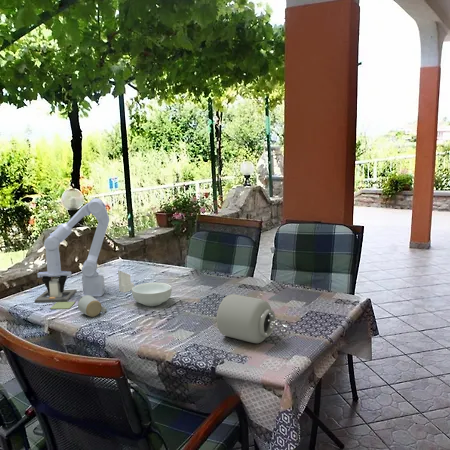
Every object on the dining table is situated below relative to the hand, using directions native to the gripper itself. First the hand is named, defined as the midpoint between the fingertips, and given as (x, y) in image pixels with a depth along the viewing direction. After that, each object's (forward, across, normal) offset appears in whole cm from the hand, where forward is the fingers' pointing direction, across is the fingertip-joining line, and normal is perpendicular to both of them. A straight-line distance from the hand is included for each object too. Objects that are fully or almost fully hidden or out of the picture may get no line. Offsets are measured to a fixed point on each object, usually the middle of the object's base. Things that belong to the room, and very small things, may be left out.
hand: (56, 292), depth 208 cm
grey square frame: (+2, 0, 0) cm, 2 cm away
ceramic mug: (+3, +23, -22) cm, 32 cm away
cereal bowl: (+3, +45, -11) cm, 46 cm away
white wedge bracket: (+3, +30, +8) cm, 31 cm away
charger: (+2, 0, 0) cm, 2 cm away
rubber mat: (+2, +7, -12) cm, 14 cm away
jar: (+3, +87, -51) cm, 101 cm away
